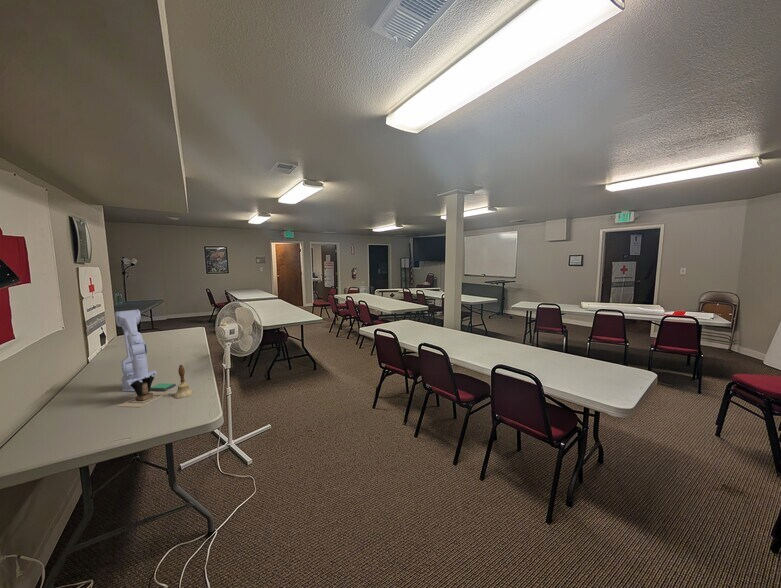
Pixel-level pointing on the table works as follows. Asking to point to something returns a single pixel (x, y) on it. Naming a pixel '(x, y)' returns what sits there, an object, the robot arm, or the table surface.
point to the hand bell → (183, 385)
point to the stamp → (144, 393)
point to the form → (141, 403)
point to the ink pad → (162, 387)
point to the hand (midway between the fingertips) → (143, 393)
